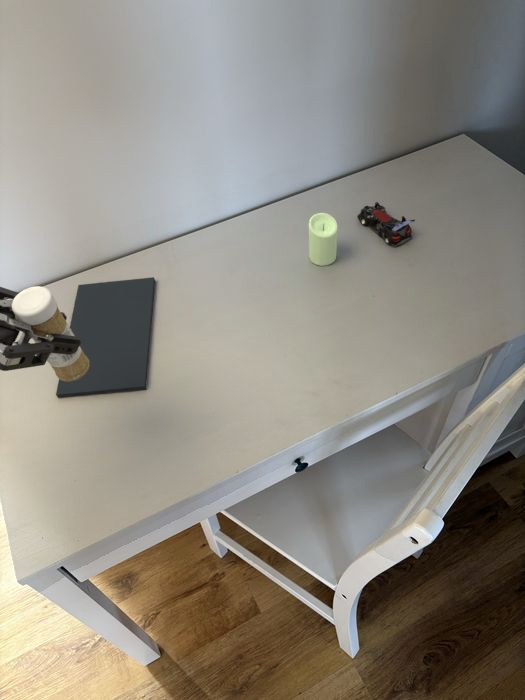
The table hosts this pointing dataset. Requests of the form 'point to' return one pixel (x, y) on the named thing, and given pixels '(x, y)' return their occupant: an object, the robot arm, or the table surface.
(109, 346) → the mat
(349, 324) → the table surface
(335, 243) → the candle
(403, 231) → the toy car
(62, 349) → the robot arm
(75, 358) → the sprinkles bottle
